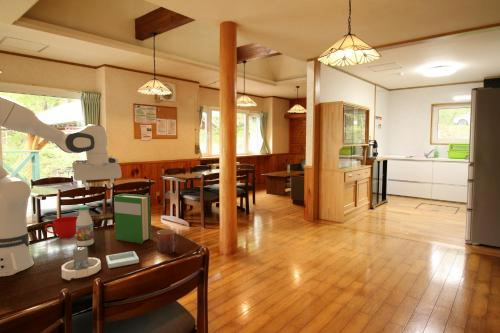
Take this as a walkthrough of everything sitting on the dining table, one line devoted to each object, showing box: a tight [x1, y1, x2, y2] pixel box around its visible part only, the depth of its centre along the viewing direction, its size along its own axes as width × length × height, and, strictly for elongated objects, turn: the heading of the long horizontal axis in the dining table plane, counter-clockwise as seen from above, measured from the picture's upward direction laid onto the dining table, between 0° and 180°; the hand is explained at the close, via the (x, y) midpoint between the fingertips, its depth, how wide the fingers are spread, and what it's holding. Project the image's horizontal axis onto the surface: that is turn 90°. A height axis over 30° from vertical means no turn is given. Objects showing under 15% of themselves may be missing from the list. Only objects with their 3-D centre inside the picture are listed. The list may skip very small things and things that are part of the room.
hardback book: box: [113, 193, 152, 244], centre depth 171 cm, size 18×7×24 cm, turn 69°
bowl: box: [61, 257, 102, 281], centre depth 129 cm, size 14×14×4 cm
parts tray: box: [105, 250, 140, 269], centre depth 139 cm, size 12×11×2 cm
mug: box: [156, 228, 176, 255], centre depth 153 cm, size 12×9×10 cm
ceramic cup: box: [44, 216, 78, 240], centre depth 174 cm, size 13×17×10 cm
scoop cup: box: [72, 246, 89, 270], centre depth 129 cm, size 5×5×10 cm
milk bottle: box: [75, 205, 95, 247], centre depth 163 cm, size 8×8×20 cm
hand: (98, 188), depth 148 cm, fingers open, 8 cm apart
